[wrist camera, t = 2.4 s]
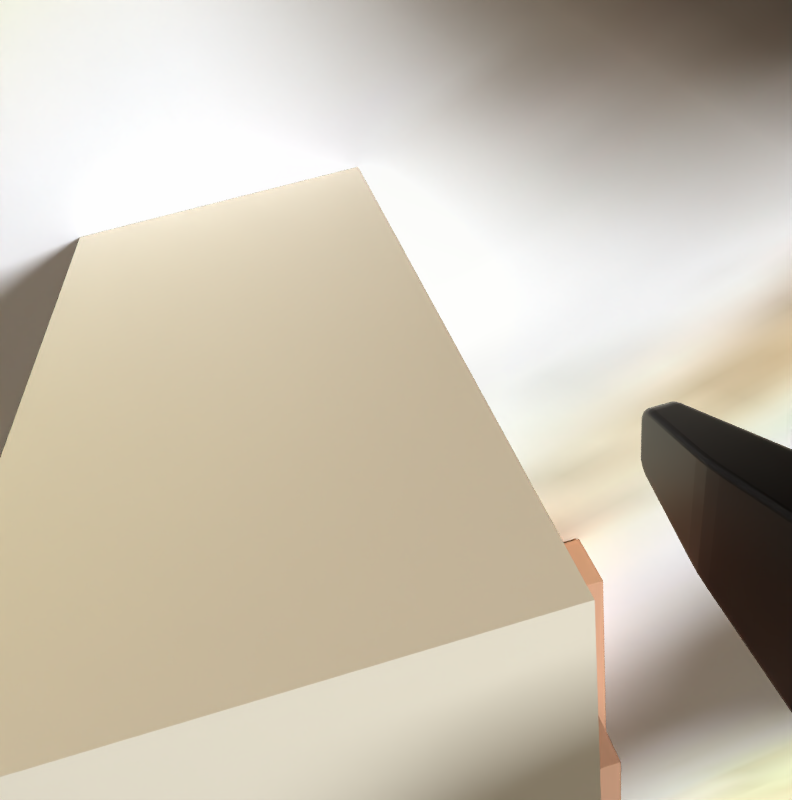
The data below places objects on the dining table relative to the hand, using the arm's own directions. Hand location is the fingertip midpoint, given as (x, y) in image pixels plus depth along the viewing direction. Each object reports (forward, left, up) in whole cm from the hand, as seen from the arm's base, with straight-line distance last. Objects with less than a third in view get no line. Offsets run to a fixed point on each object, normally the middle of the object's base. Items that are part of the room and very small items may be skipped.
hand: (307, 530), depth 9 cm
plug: (0, 0, -4) cm, 4 cm away
